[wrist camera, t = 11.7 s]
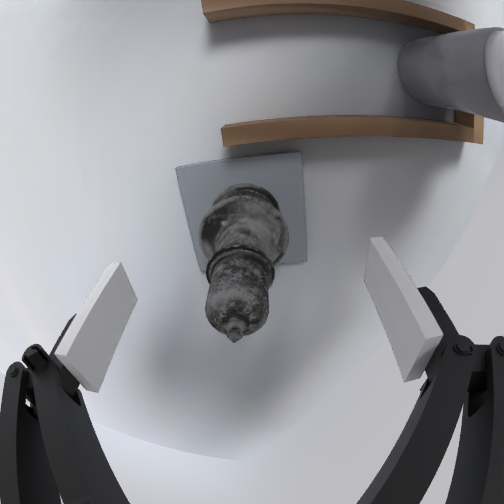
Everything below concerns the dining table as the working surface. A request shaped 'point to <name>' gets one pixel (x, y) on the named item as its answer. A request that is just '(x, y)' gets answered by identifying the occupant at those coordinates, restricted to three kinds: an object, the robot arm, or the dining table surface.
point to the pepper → (457, 71)
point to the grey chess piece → (241, 257)
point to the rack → (362, 5)
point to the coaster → (254, 172)
